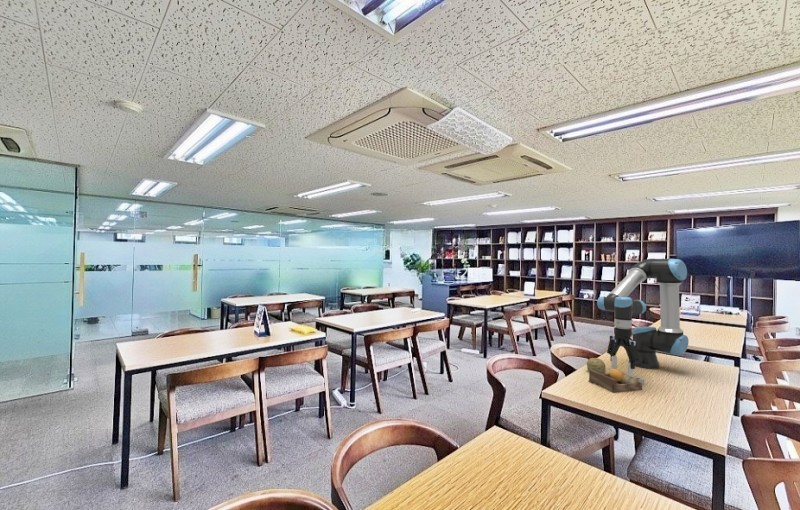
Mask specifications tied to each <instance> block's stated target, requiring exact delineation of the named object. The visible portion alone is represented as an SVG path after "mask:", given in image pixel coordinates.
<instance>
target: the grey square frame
mask: <svg viewBox="0 0 800 510" xmlns="http://www.w3.org/2000/svg"><path fill="white" fill-rule="evenodd" d="M633 377H634V378H637V379H639V380H640V382H641V383H642V385H645V378H642V377H639V376H636V377H635V376H633Z"/></svg>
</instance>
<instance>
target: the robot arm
mask: <svg viewBox="0 0 800 510" xmlns="http://www.w3.org/2000/svg"><path fill="white" fill-rule="evenodd" d="M687 277H688V269H687V266H686V263H684V261H683V260H682V259H677V258H648V259H644V260H642V261H639V262H637V263H636V264H634V265H633V266H631V268H630V269H629V270H628V272H627V274H626V276H625V277H624V278H623V279H622V280H620V282H618V284H617V285H616V286H615V287H614V288H613V289H612V290H611V292H610V293H608V294H607V295H606V296H599V297H598V299H597V302H596V306H597V307H598V309H599V310H602V311H607V312H614V319H613V320H614V325H613V326H614V327H613V334H614V335H609V342H608V346H607V351H606V353H607V354H608V355H610V362H611V365H610V366H611V367H610V368H611V370H613V369H618V368H617V367H618V356H617V353H618V351H619V349H620V347H623V348H624V350H625V352H626V355H627V357H628V362H627V363H628V364H627V375H629V376H634V374H635V369H636V367H637V368H641V369H642V368H643V369H650V370H652V369H654V370H655V369H659V368H660V363H659V362H660V361H659V359H658V356H657V351H658V352H662V353H666V354H671V355H675V356H681V355H684V353H686V351H687V349H688V348H689V343H690V342H689V341H690V340H689V337H688V335H685V334H684V330H683V329H682V328H681V325H680V321H681V320H680V285H682V284H683V281H684V280H686V279H687ZM647 279H655V280H656V281H655V282H656V284H658V285H659V305H660V307H659V308H660V326H659V327H658V328H657V327H655V326H634V327H633V318H632V317H633V316H635V315H636V316H639V315H642V314H644V313H645V312H647V311H646V310H647V305H646V303H645V301H642V300H641V299H632V297H628V296H630V294H631V293H633V291H634V290H635V289H636V288H637V287H638V286H639V285H640V283H642V282H644V281H646V280H647Z"/></svg>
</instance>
